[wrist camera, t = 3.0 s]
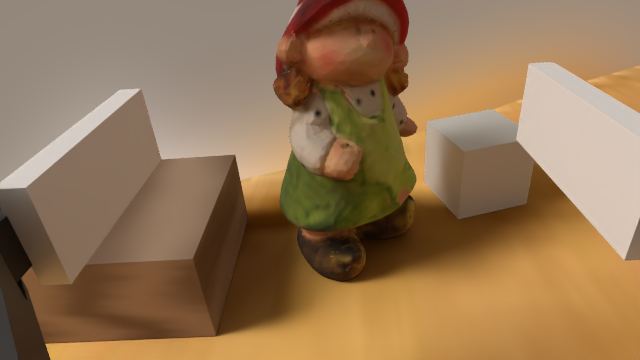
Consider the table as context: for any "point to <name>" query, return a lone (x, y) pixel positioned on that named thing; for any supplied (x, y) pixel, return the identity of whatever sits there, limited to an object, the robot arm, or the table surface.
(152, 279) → the pedestal
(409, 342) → the table surface
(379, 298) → the table surface
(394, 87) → the figurine
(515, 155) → the grey cube
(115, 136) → the robot arm
